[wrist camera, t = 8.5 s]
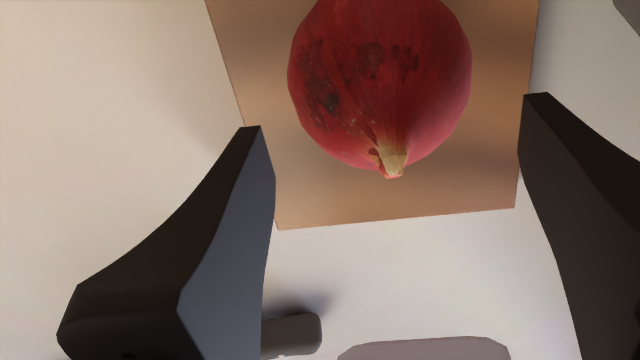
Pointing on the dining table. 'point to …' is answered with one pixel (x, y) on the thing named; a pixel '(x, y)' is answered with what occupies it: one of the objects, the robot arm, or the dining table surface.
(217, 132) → the dining table surface
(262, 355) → the kitchen knife
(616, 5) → the cooking pot
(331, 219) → the cutting board
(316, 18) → the onion
